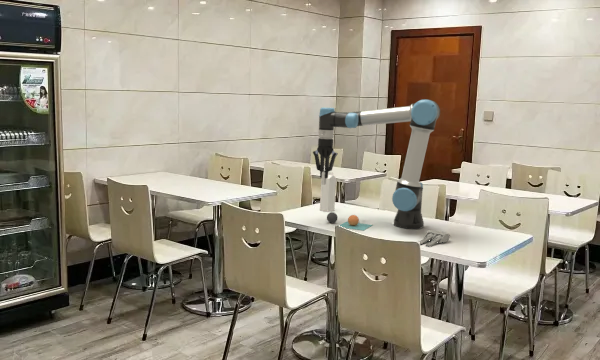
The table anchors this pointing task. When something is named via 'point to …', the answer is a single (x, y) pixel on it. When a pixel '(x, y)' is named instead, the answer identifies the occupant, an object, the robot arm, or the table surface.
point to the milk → (328, 194)
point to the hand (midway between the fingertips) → (323, 184)
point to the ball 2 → (353, 220)
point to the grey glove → (435, 237)
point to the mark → (357, 227)
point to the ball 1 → (332, 217)
